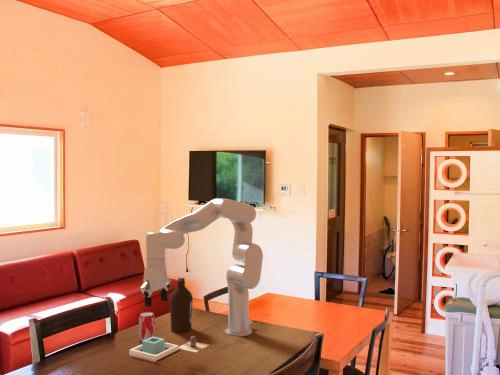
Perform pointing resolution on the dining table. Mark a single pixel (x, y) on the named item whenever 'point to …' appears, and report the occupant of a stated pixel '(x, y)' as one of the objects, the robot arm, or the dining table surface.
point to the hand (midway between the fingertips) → (156, 303)
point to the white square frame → (151, 357)
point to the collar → (153, 345)
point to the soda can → (146, 326)
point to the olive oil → (181, 308)
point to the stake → (193, 345)
